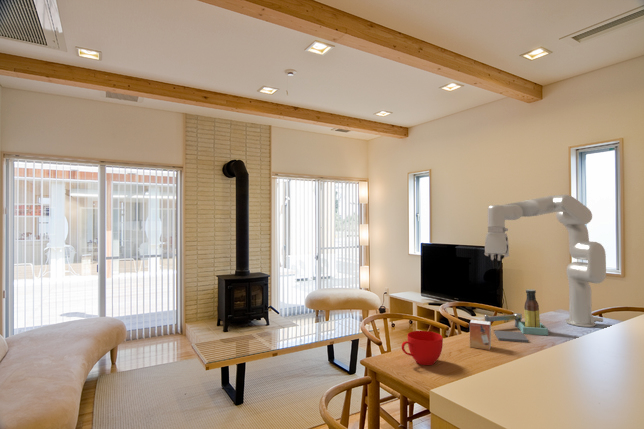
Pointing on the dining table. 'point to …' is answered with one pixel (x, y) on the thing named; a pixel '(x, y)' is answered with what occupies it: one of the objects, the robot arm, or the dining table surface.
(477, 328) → the small box
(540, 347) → the dining table surface
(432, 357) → the ceramic cup
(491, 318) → the bar
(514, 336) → the pad
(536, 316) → the sauce bottle
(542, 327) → the teal square frame
